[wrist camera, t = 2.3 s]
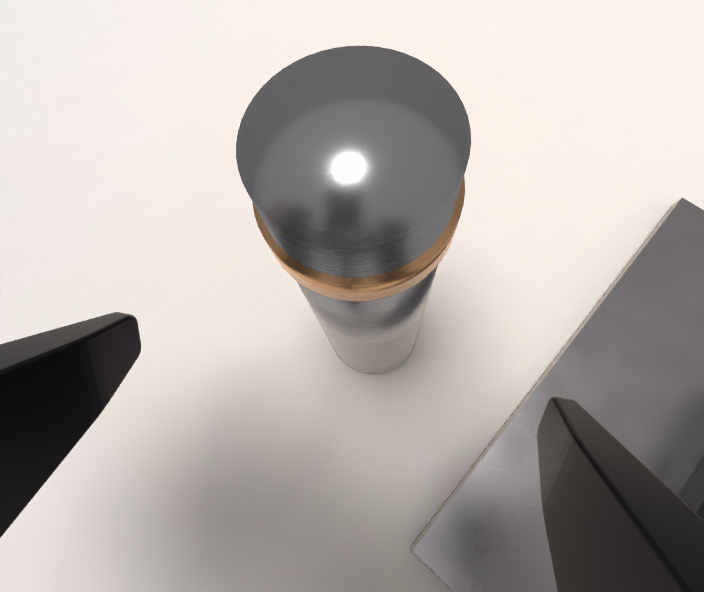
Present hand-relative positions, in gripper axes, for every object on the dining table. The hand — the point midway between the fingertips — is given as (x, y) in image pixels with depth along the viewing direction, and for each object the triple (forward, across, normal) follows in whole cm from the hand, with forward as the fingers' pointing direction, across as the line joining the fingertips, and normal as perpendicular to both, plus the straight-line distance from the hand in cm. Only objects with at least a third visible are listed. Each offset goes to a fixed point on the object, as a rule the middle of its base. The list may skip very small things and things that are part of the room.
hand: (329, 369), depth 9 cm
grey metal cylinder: (+10, 0, +5) cm, 11 cm away
